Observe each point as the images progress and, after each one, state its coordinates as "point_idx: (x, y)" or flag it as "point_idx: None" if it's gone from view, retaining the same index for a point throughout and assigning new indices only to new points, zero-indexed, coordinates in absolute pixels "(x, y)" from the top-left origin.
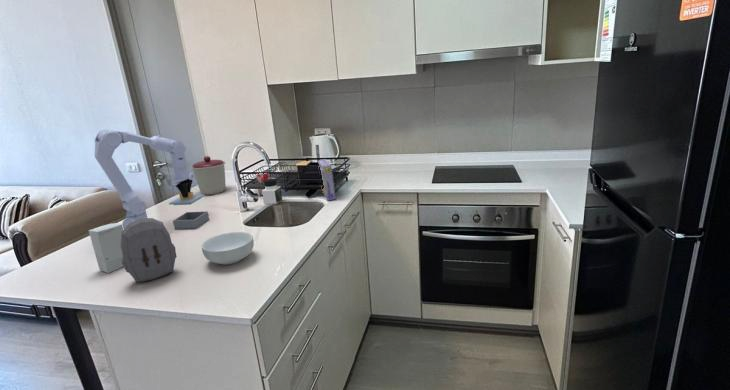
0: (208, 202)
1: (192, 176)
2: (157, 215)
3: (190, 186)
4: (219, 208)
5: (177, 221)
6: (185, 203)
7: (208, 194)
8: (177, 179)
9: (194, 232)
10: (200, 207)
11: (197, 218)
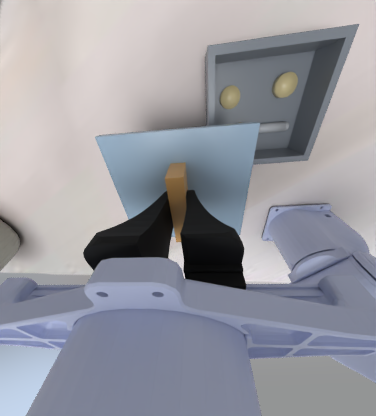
0: (52, 195)
1: (18, 290)
2: (170, 253)
3: (143, 216)
4: (75, 109)
5: (313, 139)
6: (250, 161)
7: (11, 228)
8: (282, 345)
9: (372, 16)
10: (96, 192)
11: (325, 29)
